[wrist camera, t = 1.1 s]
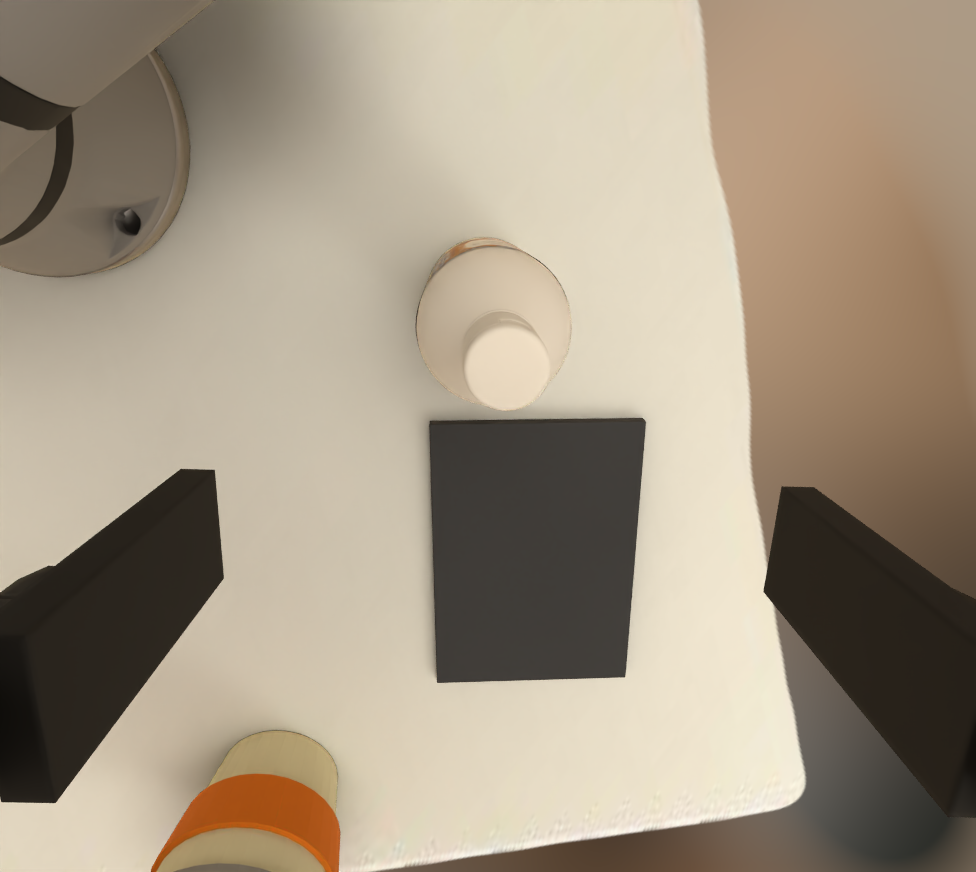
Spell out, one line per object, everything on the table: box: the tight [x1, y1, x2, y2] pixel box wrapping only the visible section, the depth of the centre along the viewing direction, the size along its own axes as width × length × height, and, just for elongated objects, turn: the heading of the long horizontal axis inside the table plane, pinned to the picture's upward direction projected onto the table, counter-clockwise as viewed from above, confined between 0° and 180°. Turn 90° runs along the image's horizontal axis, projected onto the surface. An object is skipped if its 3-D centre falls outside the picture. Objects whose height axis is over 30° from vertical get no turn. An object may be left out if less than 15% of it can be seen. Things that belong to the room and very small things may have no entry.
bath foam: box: [416, 237, 572, 411], centre depth 31 cm, size 7×7×20 cm
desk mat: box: [429, 418, 646, 683], centre depth 46 cm, size 20×14×1 cm
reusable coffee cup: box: [151, 731, 340, 872], centre depth 45 cm, size 13×13×15 cm
